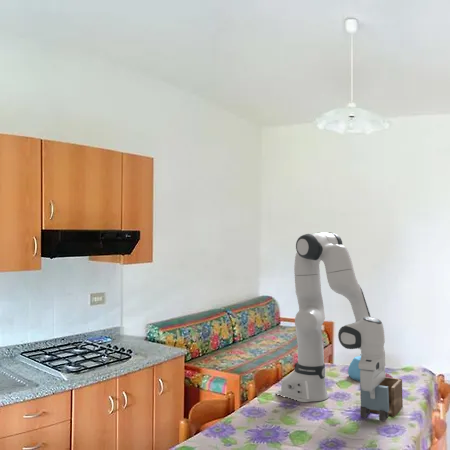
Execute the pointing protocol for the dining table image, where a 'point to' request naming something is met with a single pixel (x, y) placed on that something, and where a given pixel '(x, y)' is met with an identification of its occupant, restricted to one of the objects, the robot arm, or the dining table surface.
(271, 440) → the dining table surface
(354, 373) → the sugar bowl
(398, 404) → the cabinet
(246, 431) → the dining table surface
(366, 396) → the door
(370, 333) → the robot arm
